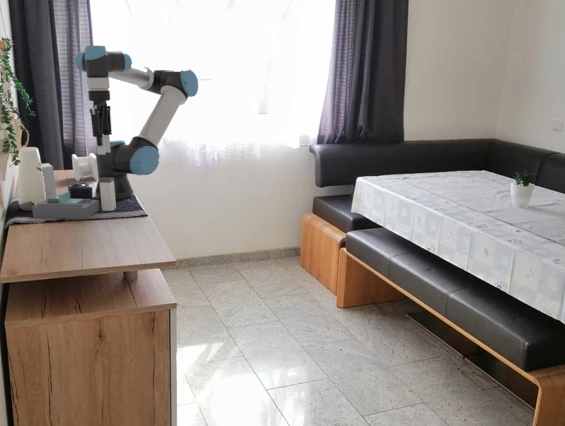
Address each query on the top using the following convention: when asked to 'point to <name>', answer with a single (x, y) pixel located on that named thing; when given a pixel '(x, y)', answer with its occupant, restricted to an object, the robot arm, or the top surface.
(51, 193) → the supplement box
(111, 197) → the grey rectangular block
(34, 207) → the socket housing
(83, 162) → the cable organizer
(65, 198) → the shutter
